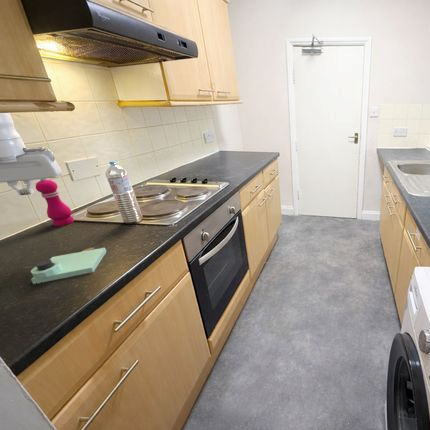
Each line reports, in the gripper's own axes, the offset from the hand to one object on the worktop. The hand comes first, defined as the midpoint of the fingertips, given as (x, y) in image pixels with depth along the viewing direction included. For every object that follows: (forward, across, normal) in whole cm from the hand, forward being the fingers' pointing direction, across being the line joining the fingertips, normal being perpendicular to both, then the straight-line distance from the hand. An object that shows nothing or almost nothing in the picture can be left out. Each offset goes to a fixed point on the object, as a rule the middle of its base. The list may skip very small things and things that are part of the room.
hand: (27, 194), depth 82 cm
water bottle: (+20, -20, -16) cm, 32 cm away
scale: (+20, -10, +14) cm, 27 cm away
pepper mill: (+21, +7, -25) cm, 33 cm away
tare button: (+17, -6, +18) cm, 26 cm away
